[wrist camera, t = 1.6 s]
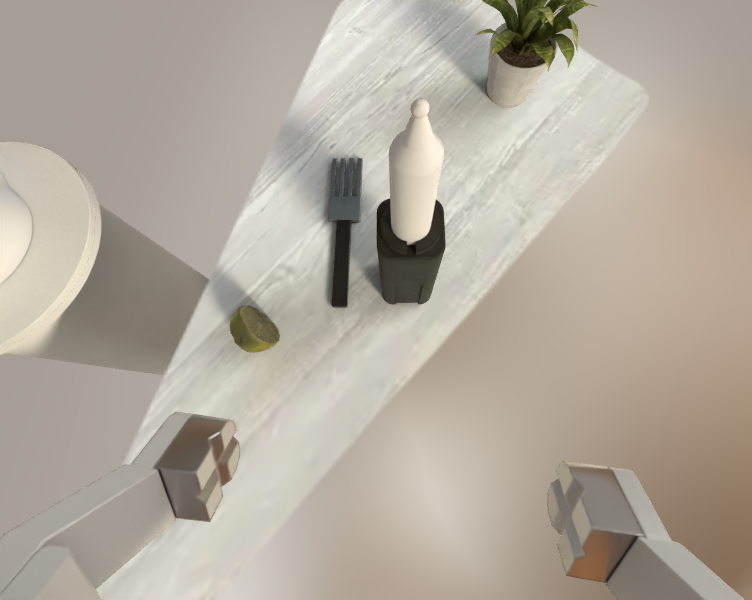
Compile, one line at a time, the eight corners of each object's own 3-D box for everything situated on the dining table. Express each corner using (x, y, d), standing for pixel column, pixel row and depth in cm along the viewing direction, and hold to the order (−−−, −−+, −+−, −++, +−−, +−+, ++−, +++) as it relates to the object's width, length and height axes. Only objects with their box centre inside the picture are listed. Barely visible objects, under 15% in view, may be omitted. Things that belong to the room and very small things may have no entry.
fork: (323, 307, 40) (322, 306, 40) (333, 161, 45) (332, 158, 45) (356, 308, 40) (356, 306, 40) (363, 161, 45) (362, 158, 45)
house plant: (420, 114, 47) (433, -35, 31) (463, 33, 50) (494, -140, 34) (533, 153, 44) (609, 14, 29) (571, 66, 47) (657, -103, 32)
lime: (250, 308, 41) (230, 295, 36) (291, 320, 40) (277, 308, 35) (234, 348, 40) (211, 339, 35) (276, 361, 39) (259, 354, 34)
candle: (429, 258, 41) (474, 53, 17) (431, 303, 40) (483, 148, 16) (382, 259, 42) (363, 58, 18) (382, 304, 40) (362, 152, 16)
